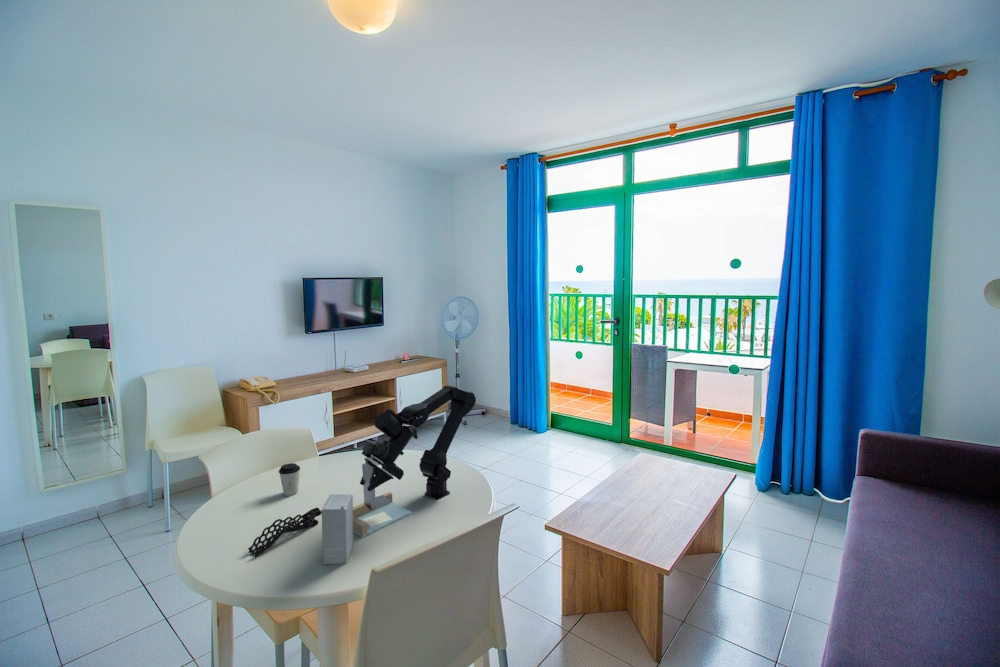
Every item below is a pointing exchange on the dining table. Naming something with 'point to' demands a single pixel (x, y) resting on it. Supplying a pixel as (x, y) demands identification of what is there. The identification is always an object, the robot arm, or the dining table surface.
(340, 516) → the skincare box
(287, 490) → the coffee cup
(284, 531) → the decorative element
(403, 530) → the dining table surface
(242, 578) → the dining table surface
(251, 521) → the dining table surface
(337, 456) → the dining table surface
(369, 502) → the grey tall post
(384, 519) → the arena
